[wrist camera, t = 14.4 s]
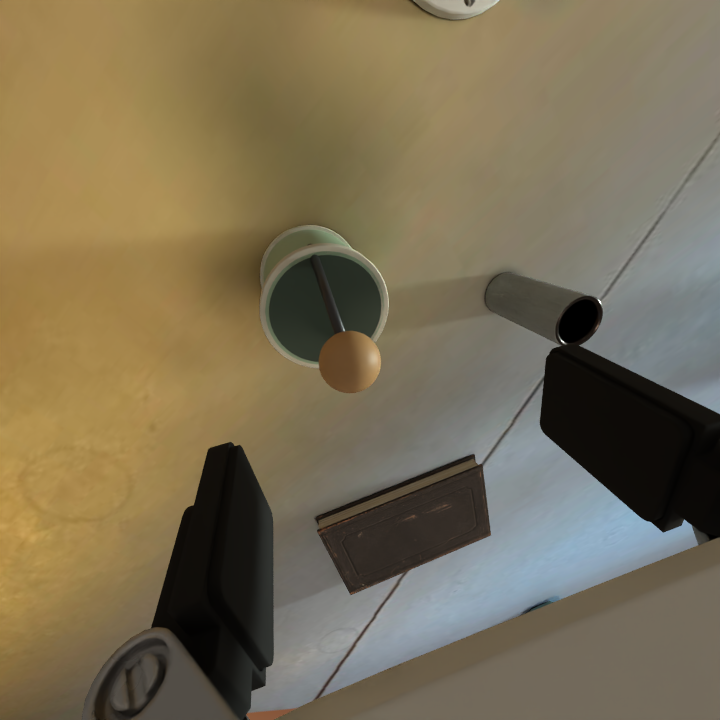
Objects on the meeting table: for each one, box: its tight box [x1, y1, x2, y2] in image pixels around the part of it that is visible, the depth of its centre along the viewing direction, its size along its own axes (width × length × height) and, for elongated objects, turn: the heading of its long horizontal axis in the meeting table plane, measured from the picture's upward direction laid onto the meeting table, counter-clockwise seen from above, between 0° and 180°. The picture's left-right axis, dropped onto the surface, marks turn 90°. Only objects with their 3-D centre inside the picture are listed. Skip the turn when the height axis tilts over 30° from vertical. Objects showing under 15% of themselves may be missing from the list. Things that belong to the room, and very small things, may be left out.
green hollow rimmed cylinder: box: [260, 225, 389, 393], centre depth 23 cm, size 18×9×9 cm
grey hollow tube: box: [485, 272, 603, 346], centre depth 32 cm, size 4×4×10 cm
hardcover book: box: [316, 455, 491, 595], centre depth 48 cm, size 16×23×2 cm
